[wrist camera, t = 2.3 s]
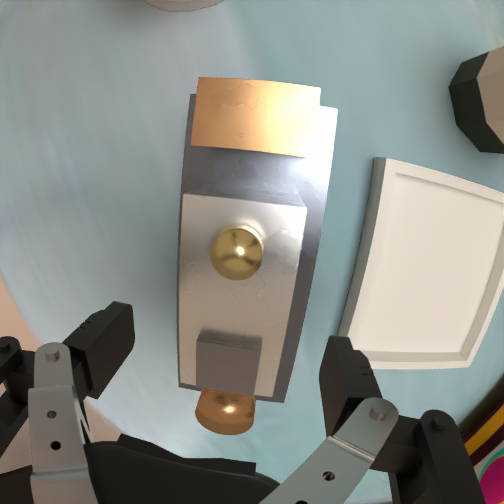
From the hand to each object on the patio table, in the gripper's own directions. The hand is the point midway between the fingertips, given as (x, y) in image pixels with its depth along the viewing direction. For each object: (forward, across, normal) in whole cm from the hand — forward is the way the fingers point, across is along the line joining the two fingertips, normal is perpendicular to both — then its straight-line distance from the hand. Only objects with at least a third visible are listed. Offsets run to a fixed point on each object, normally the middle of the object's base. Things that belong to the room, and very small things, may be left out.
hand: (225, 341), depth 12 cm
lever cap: (+7, 0, 0) cm, 7 cm away
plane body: (+12, 0, 0) cm, 12 cm away
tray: (+12, -15, 0) cm, 19 cm away
